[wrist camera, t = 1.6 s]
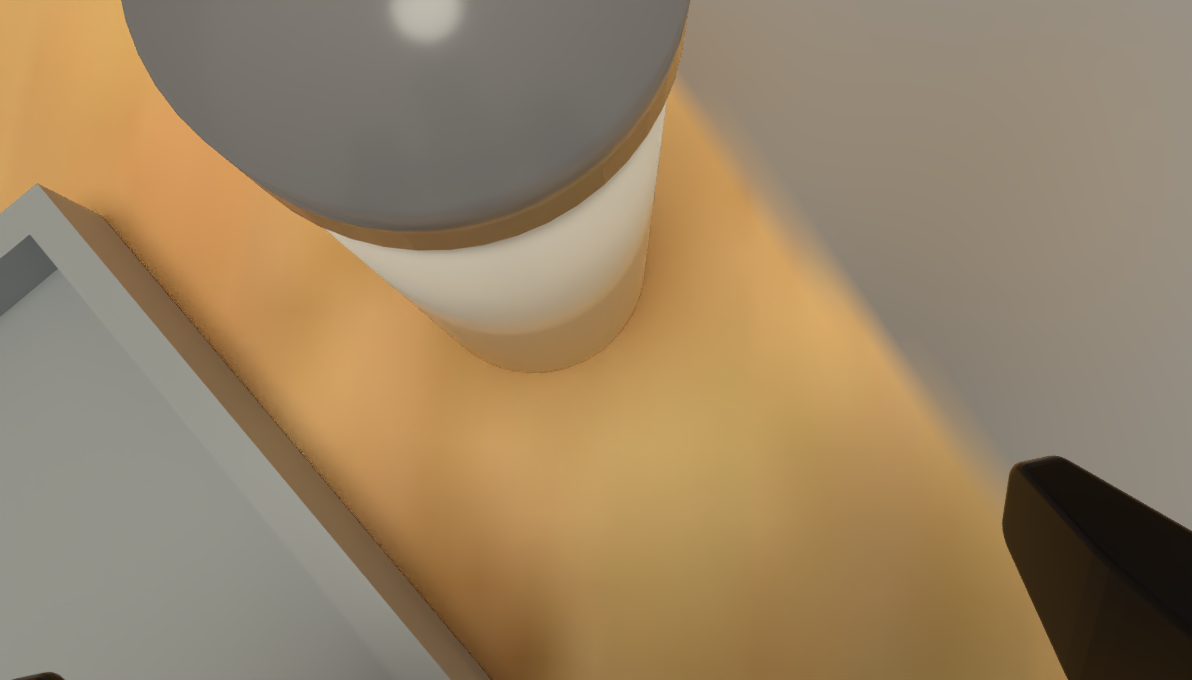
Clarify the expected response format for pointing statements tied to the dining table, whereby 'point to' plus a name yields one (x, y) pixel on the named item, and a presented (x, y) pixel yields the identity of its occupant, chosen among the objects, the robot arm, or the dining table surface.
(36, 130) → the dining table surface
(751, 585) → the dining table surface
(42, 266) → the tray
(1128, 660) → the robot arm
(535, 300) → the shaker
